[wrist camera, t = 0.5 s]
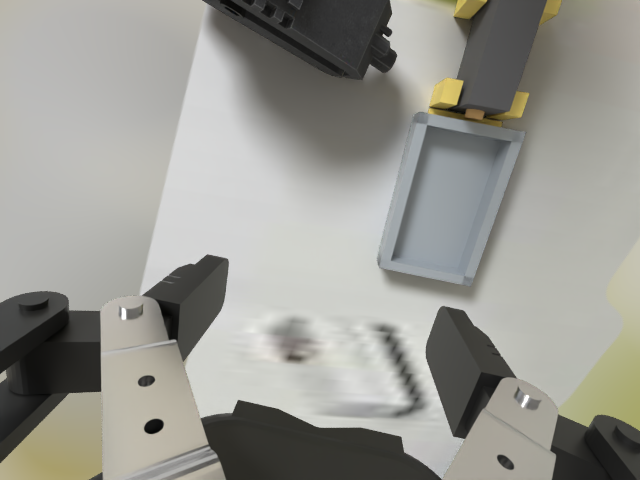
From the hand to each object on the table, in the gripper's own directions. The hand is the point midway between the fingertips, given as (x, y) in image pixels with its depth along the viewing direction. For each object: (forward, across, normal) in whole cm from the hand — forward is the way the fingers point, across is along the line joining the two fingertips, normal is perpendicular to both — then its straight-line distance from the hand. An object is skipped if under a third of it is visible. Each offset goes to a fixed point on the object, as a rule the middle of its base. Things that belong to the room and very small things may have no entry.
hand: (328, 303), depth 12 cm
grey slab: (+26, -10, -15) cm, 32 cm away
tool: (+26, +8, -15) cm, 31 cm away
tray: (+25, -10, -1) cm, 28 cm away
